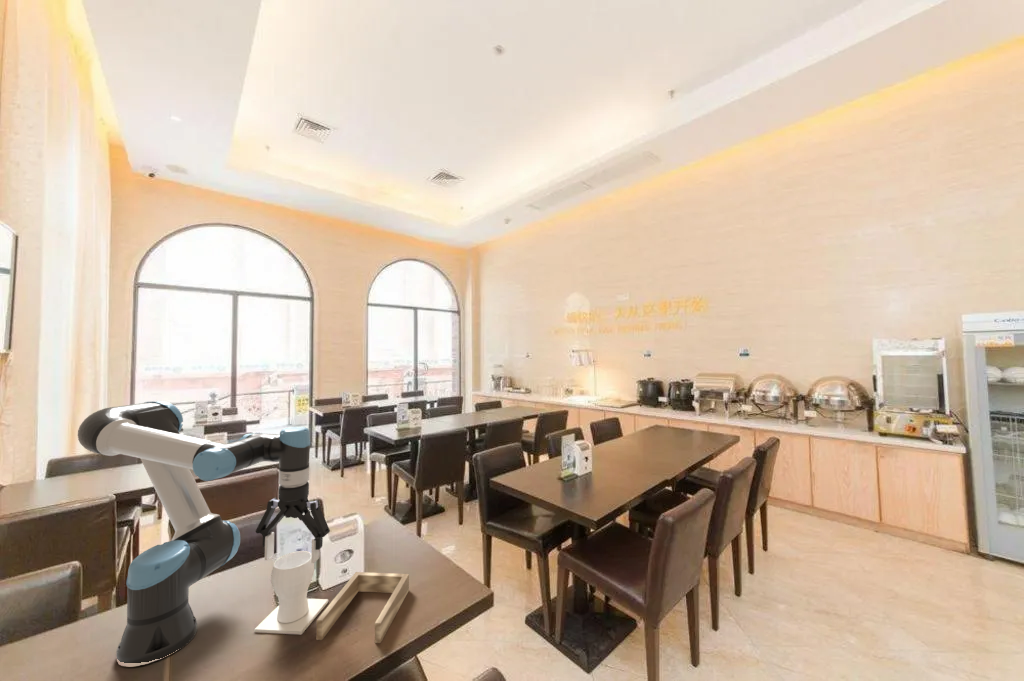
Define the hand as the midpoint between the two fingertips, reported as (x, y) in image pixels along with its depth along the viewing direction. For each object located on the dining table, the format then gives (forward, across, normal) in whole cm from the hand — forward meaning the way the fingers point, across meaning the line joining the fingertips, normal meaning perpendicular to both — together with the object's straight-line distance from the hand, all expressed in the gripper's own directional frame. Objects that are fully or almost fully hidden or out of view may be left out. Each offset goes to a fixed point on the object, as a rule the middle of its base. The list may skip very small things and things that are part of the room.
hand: (292, 559), depth 109 cm
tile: (+16, +1, 0) cm, 16 cm away
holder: (+15, +21, +3) cm, 26 cm away
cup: (+15, +1, 0) cm, 15 cm away
